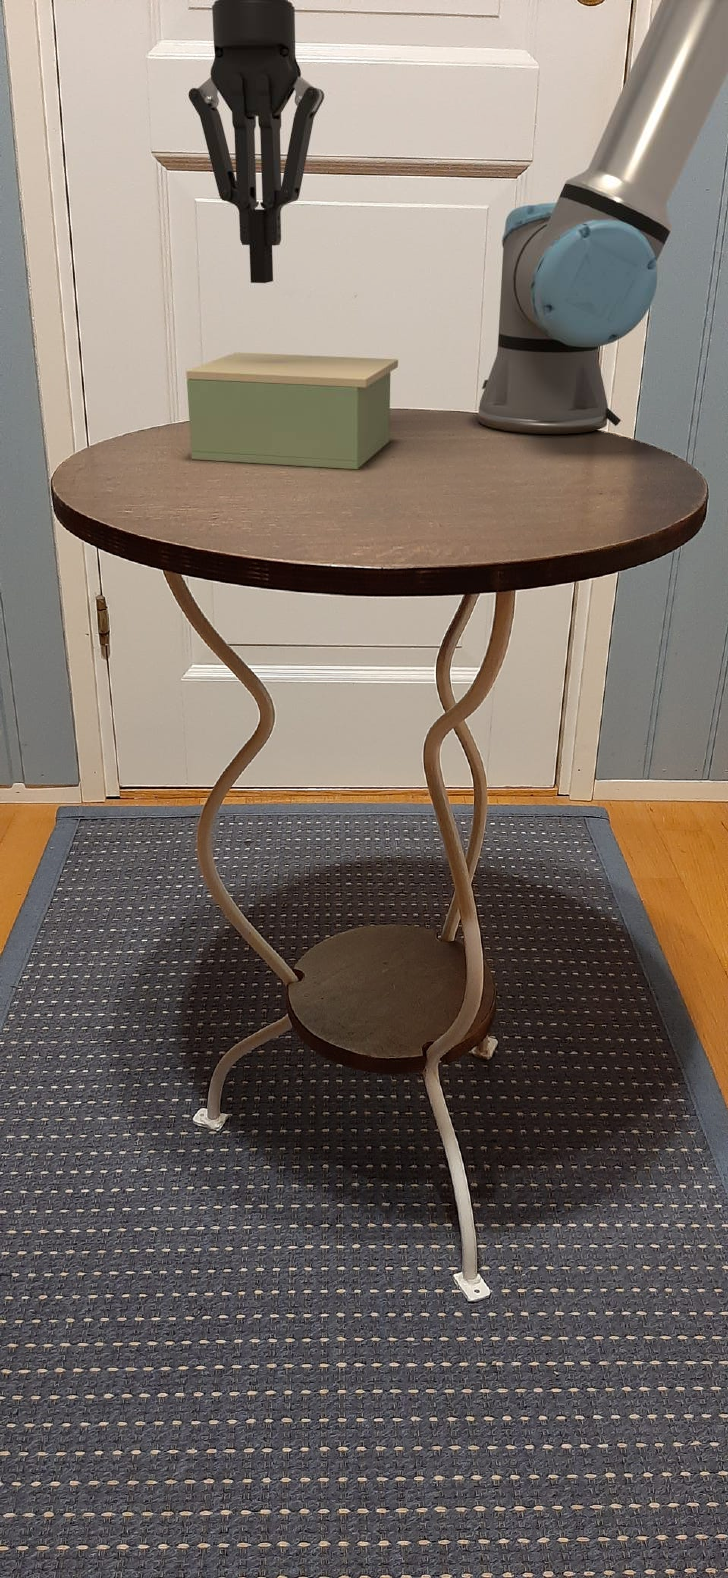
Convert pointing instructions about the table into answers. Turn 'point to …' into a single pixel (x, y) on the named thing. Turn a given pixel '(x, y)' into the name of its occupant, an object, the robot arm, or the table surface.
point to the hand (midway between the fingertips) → (262, 281)
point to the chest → (288, 422)
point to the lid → (295, 369)
